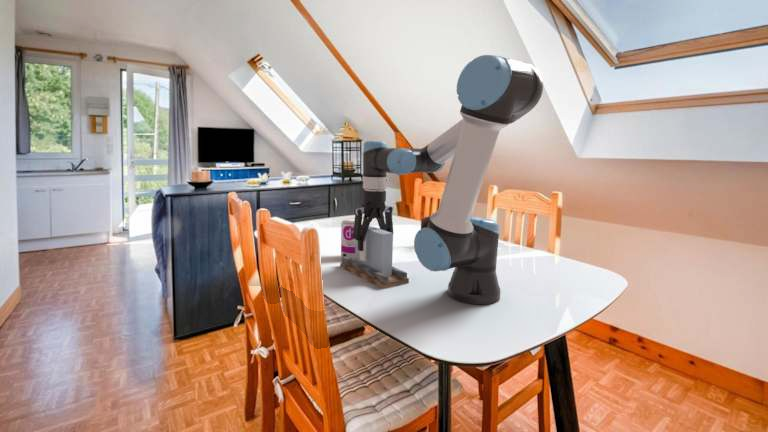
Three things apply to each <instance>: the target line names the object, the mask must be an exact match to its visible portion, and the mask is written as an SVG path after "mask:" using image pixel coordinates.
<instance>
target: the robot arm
mask: <svg viewBox="0 0 768 432" xmlns="http://www.w3.org/2000/svg"><path fill="white" fill-rule="evenodd" d="M543 91H544V81H543V77H542V75H541V73H540V71H539V70H538V69H537V68H536V67H534V65H533V64H530V63H527V62H523V61H518V60H514V59H510V58H507V57H503V56H501V55H494V54H493V55H492V54H482V55H479V56H476V57H475V58H473V59H472V60H471V61H469V62H468V63H467V64H465V66H464V67H463V69H462V71H461V72H460V74H459V76H458V80H457V83H456V94H457V95H458V96H457V99H458V101H459V103H460V104H461V106H460V110H459V113H460V115H461V117H462V119H460V120H459V121H458V122H457V123H455V124H454V125H452V126H451V127H450V128H448V129H446V131H444V132H443V133H442V134H440V135H439V136H438V137H436V138H435V139H434V140H432V141H431V142H430V143H428V144H427V145H426V146H424V147H421V148H405V147H402V148H400V147H399V148H397V147H395V148H394V147H392V148H390V147H388V143H387V142H386V141H383V140H382V141H379V140H378V141H377V140H375V141H373V140H366V141H364V143H363V152H362V175H363V176H362V188H363V190H362V203H363V204H362V207H360V208H354V209H353V211H354V215H355V216H354V218H355V221H354V229H353V237H352V238H353V239H355V240H358V250H359V251H360V260H362V261H366V241H364V239H365V236H366V233H367V230H368V228H369V226H371V222H373V220H374V219H376V221H377V224H378V227H379V229H382V230H385V231H388V232H391V233H393V234H394V226H393V206H390V205H386V201H387V190H386V189H387V174H389V173H390V174H393V175H398V176H399V175H403V176H404V175H409V174H416V173H417V174H421V173H427V174H433V173H436V172H441V170H443V168H444V166H445V164H446V162H447V161H449V160H450V159H452V161H451V165H450V168H449V171H448V174H447V177H446V181H445V185H444V189H443V191H442V195H441V199H440V202H439V205H438V209H437V211H434V212H433V213H431V215H430V219H429V222H428V226H427V228H422V229H421V228H420V229H419V230H418V231H417V232H416V234H415V236H414V240H413V246H414V247H413V248H414V252H415V254H416V258H417V259H418V261H419V262H420V264H421V266H423V267H424V268H426V269H427V270H428V271H430V272H445V271H448V270H450V269H454V270H453V272H452V275H451V276H450V277H451V278H450V281H449V282H448V283H447V284H448V285H447V295H448V296H449V297H451V298H452V299H454V300H456V301H459V302H462V303H464V304H465V303H466V304H472V305H489V304H494V303H496V302H498V301H499V300H500V299H501V291H502V290H501V287H500V285H499V281H498V276H497V275H498V274H497V260H498V248H499V237H500V225H499V222H497V221H496V220H493V219H490V218H485V217H484V218H483V217H477V216H473V213H474V209H475V206H476V203H477V201H478V198H479V194H480V192H481V188H482V186H483V183H484V180H485V176H486V174H487V171H488V168H489V164H490V161H491V158H492V155H493V152H494V148H495V146H496V142H497V140H498V137H499V134H500V131H501V130H502V129H504V128H506V127H507V126H509V125H510V124H511V125H512V124H513V123H515V122H516V121H518V120H520V119H521V118H522V117H524V116H526V115H527V114H528V113H529V112H531V111H532V110H533V109H534V108H535V107H536V106H537V105H538V103H539V102H540V100H541V98H542V95H543ZM362 222H363V223H362ZM361 224H362V225H361Z"/></svg>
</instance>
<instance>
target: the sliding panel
mask: <svg viewBox="0 0 768 432" xmlns="http://www.w3.org/2000/svg"><path fill="white" fill-rule="evenodd" d="M364 241H366V261H362V260H360V251H359V250H358V240H355V261H356V262H358V263H360V264H363V265H365V266H367V267H369V268H371V269H373V270H375V271H377V272H380V273H382V274H384V275H386V276H392V267H393V251H394V250H393V247H394V245H393V243H394V242H393V241H394V232H393V233H391V232H388V231H385V230H382V229H380V227H379V228H378V227H375V226H372V225H369V228H368V230H367V233H366V236H365V239H364Z"/></svg>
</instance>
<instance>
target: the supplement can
mask: <svg viewBox="0 0 768 432" xmlns="http://www.w3.org/2000/svg"><path fill="white" fill-rule="evenodd" d="M354 221H355V217H345V218H343V219H342V221H341V223H340V228H341V229H340V230H341V231H340V233H341V234H340V257H341V258H342V257H344V256H346V257H348V258H350V259H352V260H355V239H353V238H352V237H353V229H354ZM362 223H363V221H362ZM361 225H362V224H361Z"/></svg>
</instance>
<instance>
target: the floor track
mask: <svg viewBox="0 0 768 432" xmlns="http://www.w3.org/2000/svg"><path fill="white" fill-rule="evenodd" d="M341 258H342V260H341V261H342V262H340V265H339V267H340V268H342V269H344V270H346V271H348V272H349V273H351V274H354V275H355V276H357V277H360V278H361V279H363V280H365V281H367V282H369V283H371V284H373V285H375V286H377V287H378V288H381V289H382V290H384V289H388V288H393V287H398V286H402V285H407V284H409V282H410V279H409V277H408V273H407V272H406V271H404V270H402V269H399V268H397V267H395V266H392V276H386V275H384V274H382V273H380V272H377V271H375V270H373V269H371V268H369V267H367V266H365V265H363V264H360V263H358V262H356V261H355V260H352V259H350V258H348V257H346V256H344V257H341Z"/></svg>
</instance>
